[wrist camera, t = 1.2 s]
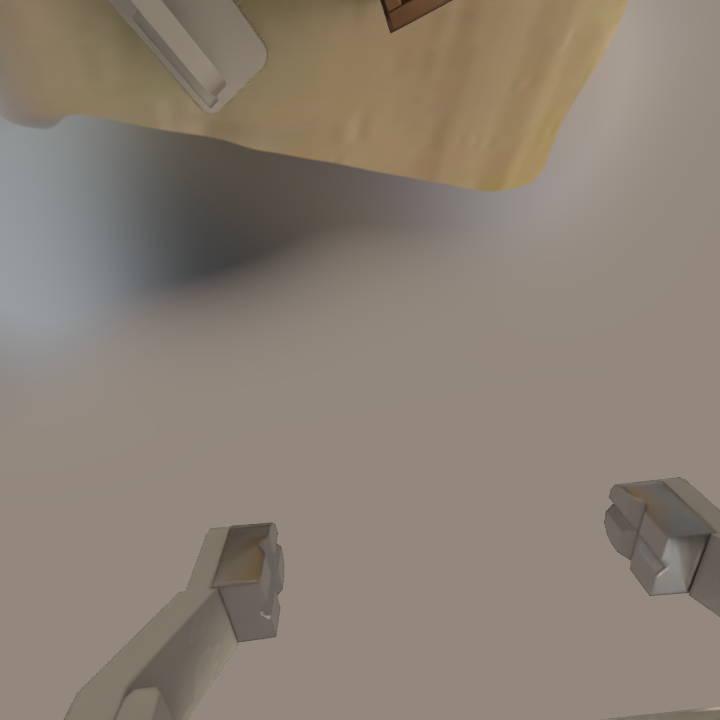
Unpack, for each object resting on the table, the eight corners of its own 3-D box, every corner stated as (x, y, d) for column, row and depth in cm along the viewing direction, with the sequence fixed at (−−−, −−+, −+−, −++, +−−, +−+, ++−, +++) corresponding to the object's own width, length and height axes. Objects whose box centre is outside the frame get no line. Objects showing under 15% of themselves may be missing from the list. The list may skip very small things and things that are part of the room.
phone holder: (65, -53, 38) (-90, -58, 26) (127, -155, 34) (-22, -223, 21) (212, 117, 48) (153, 175, 35) (275, 54, 44) (234, 95, 31)
